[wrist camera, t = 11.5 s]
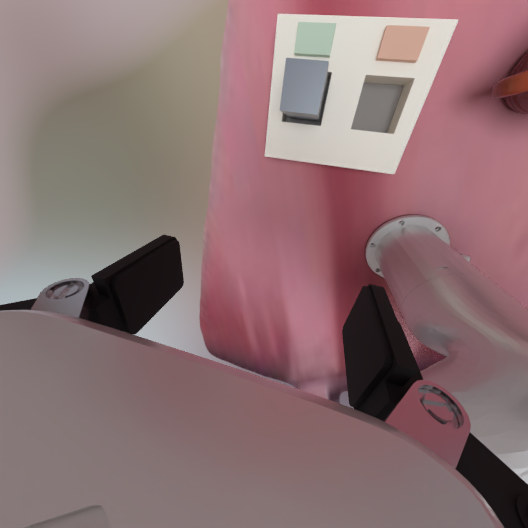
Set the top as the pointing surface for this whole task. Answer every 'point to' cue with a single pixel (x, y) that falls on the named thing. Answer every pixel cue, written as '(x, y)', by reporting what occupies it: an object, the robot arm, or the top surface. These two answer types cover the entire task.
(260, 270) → the top surface
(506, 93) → the mug
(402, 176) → the top surface
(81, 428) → the robot arm
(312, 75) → the dark grey rectangular prism
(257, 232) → the top surface
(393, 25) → the socket block
